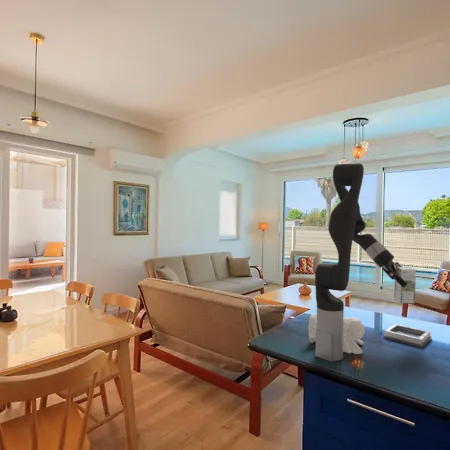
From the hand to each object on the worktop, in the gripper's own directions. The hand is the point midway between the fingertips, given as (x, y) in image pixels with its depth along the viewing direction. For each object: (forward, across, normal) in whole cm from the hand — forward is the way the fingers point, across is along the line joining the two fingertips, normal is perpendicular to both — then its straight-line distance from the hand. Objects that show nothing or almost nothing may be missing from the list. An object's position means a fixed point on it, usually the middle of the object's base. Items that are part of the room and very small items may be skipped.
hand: (408, 284), depth 125 cm
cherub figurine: (+4, -27, +29) cm, 40 cm away
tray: (+16, +2, +17) cm, 23 cm away
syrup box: (+5, 0, +6) cm, 8 cm away
